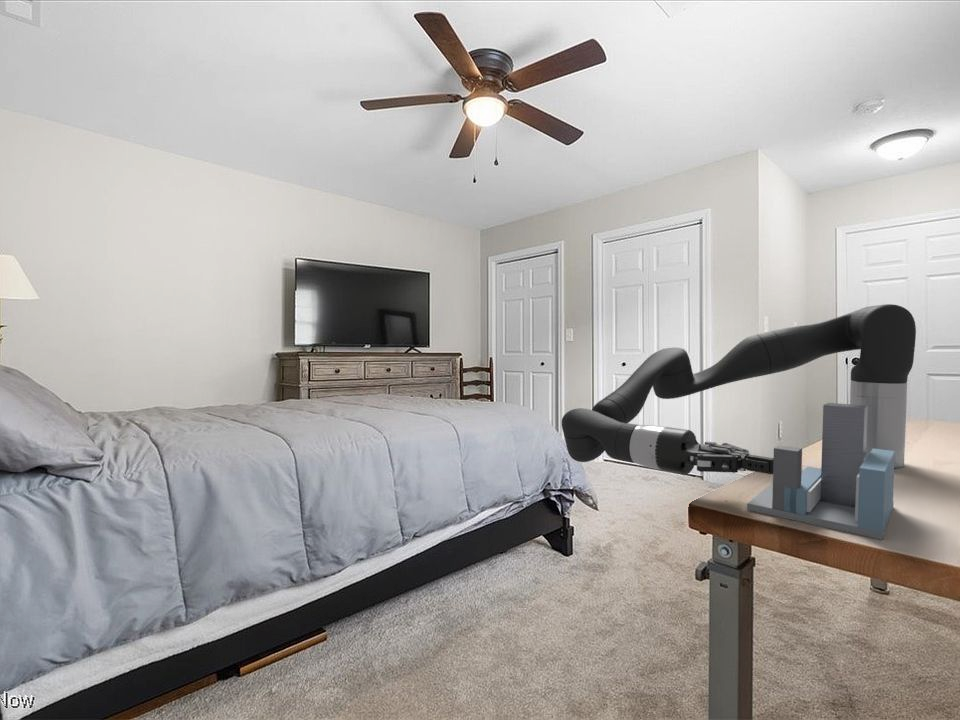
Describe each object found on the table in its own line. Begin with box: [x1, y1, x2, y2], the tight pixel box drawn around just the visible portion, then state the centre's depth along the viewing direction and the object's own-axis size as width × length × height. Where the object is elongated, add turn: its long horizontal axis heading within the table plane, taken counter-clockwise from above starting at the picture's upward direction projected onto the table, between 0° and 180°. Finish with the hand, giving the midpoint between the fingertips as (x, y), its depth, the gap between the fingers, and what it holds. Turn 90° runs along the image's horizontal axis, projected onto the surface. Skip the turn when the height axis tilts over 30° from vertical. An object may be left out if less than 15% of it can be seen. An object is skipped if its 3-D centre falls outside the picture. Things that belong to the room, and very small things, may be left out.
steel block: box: [820, 402, 868, 508], centre depth 74 cm, size 4×5×15 cm
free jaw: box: [772, 444, 821, 515], centre depth 76 cm, size 16×4×9 cm, turn 136°
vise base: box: [746, 448, 895, 541], centre depth 74 cm, size 17×16×9 cm
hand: (775, 466), depth 73 cm, fingers closed
